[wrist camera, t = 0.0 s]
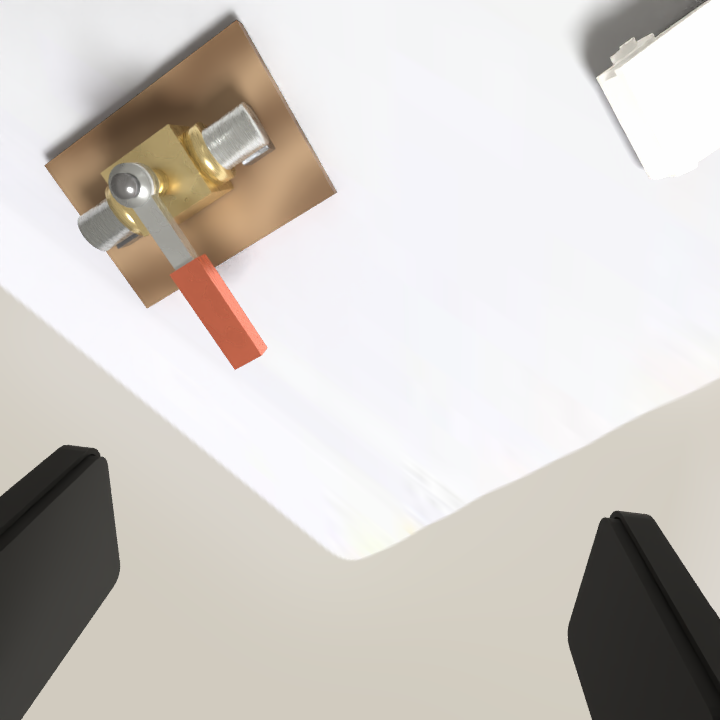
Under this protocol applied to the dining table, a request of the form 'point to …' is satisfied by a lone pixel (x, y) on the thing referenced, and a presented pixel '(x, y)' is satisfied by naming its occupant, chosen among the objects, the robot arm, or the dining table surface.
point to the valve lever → (188, 265)
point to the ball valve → (181, 173)
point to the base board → (251, 183)
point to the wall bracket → (670, 92)
